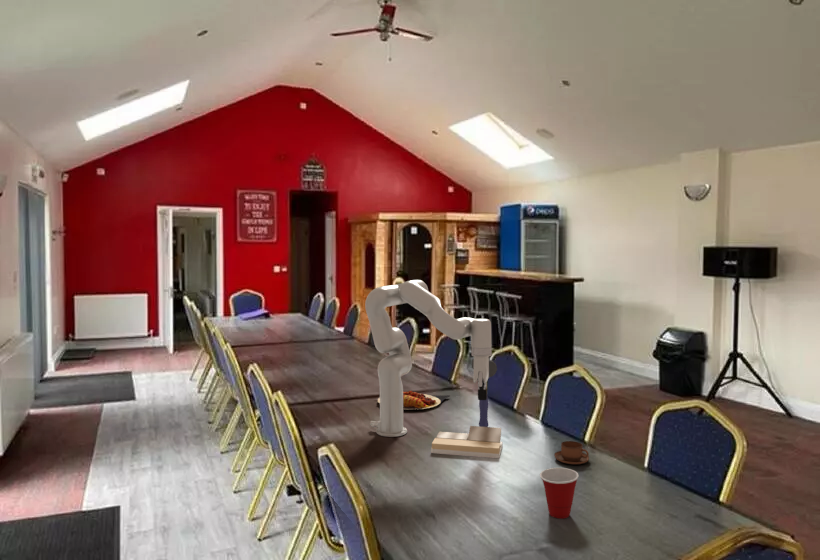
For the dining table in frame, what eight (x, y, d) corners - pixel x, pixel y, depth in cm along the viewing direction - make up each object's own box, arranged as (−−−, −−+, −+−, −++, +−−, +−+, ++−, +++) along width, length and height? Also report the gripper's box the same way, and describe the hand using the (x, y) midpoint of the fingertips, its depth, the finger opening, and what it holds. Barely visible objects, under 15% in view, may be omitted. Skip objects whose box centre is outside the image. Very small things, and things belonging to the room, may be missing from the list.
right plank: (468, 443, 234) (468, 439, 233) (470, 429, 240) (470, 425, 239) (499, 445, 232) (499, 442, 231) (501, 431, 237) (501, 427, 236)
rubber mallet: (498, 432, 255) (498, 359, 253) (481, 433, 253) (481, 360, 251) (486, 423, 267) (486, 354, 265) (469, 424, 265) (470, 355, 263)
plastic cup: (534, 507, 183) (535, 467, 182) (570, 505, 184) (571, 465, 183) (545, 523, 172) (546, 481, 171) (583, 522, 173) (584, 480, 172)
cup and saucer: (590, 457, 225) (590, 440, 225) (588, 469, 214) (588, 451, 214) (556, 454, 229) (556, 437, 229) (552, 465, 218) (552, 447, 217)
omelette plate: (456, 398, 308) (456, 384, 307) (419, 418, 279) (418, 403, 278) (403, 391, 325) (403, 378, 324) (363, 410, 295) (362, 395, 295)
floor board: (431, 453, 230) (431, 443, 229) (438, 441, 243) (438, 432, 243) (499, 458, 224) (499, 448, 224) (502, 445, 238) (502, 436, 237)
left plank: (436, 442, 236) (436, 437, 236) (439, 436, 243) (439, 431, 243) (466, 444, 234) (466, 439, 233) (469, 438, 240) (469, 433, 240)
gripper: (474, 348, 243) (475, 394, 244) (468, 354, 229) (469, 404, 230) (493, 348, 242) (494, 395, 242) (489, 355, 227) (490, 404, 228)
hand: (482, 399), depth 236 cm, fingers closed
